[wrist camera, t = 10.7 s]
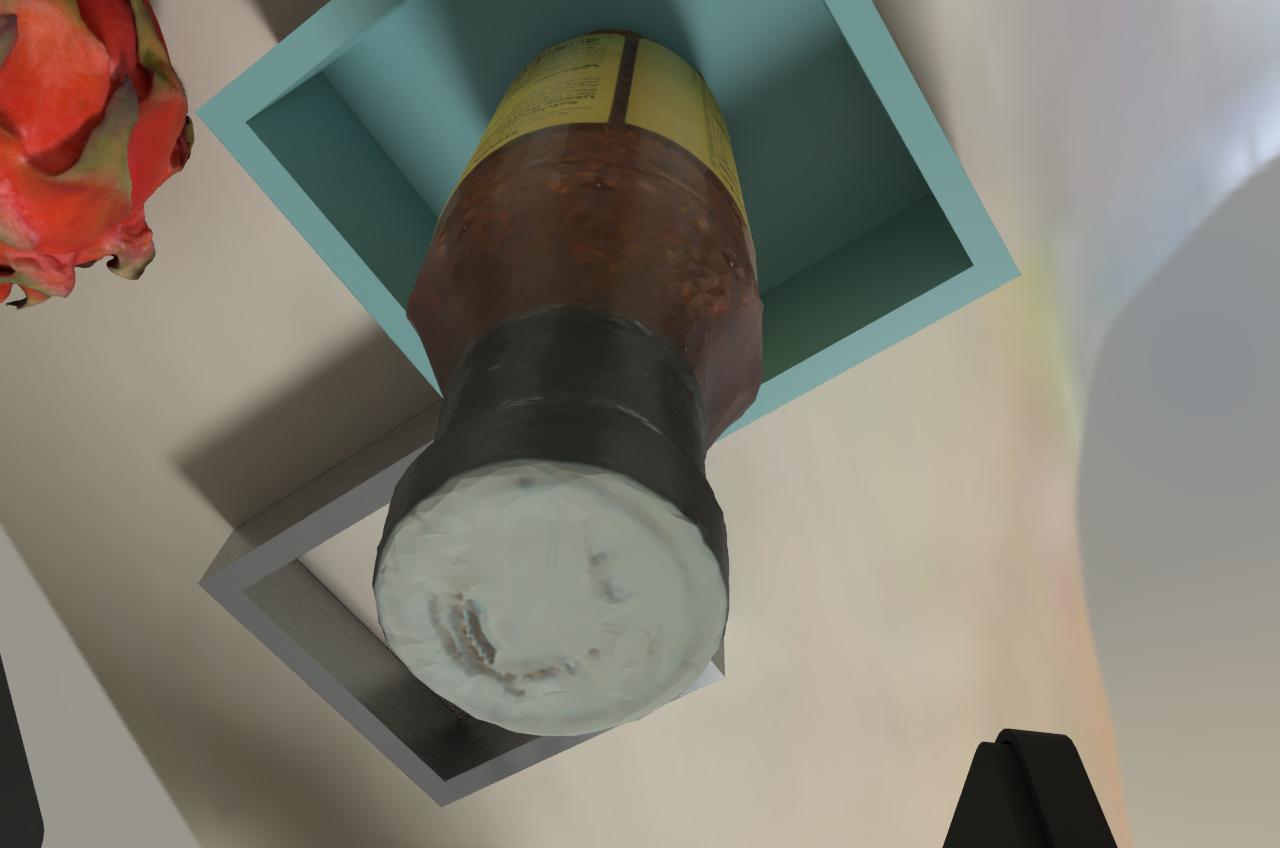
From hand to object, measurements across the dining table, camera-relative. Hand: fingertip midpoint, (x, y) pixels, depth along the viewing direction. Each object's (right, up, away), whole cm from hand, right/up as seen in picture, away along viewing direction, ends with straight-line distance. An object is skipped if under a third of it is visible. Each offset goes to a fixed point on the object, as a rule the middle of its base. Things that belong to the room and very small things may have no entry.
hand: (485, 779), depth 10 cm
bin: (+1, +12, +19) cm, 22 cm away
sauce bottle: (+1, +11, +19) cm, 22 cm away
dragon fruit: (-14, +14, +19) cm, 27 cm away
